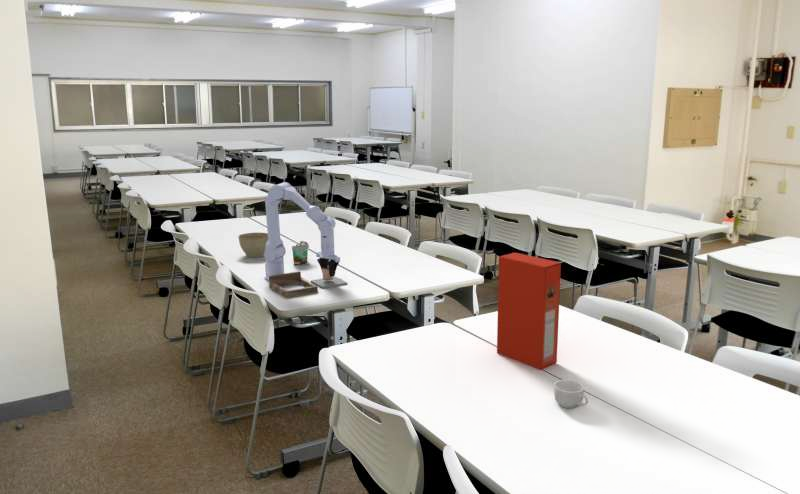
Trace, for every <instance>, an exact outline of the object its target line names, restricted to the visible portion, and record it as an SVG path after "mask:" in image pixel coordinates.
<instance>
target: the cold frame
mask: <svg viewBox="0 0 800 494" xmlns="http://www.w3.org/2000/svg"><path fill="white" fill-rule="evenodd" d="M301 273H302V272H301V270H298V271H292V272H286V273H285V272H284V274H279V275H272V276H269V281H268V285H269V286H268V287H269V288H270V289H271V290H273V291H274V292H275V293H277V294H279V295H281V296H283V297H284V298H285V299H287V298H292V297H298V296H304V295H308V294H315V293H319V289H318V287H319V286H317V285H315V284H313V283H311V281H309V280H307V279H305V278H303V277H302V274H301ZM294 284H300V286H301V285H302V286H303V287H301V288H296V289H295V288H294V289H290V290H287V289H285V288H283V287H284V286H288V285H294Z"/></svg>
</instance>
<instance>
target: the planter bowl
mask: <svg viewBox="0 0 800 494" xmlns="http://www.w3.org/2000/svg"><path fill="white" fill-rule="evenodd" d="M238 240H239V241H238V242H239V245H240V249H241V250H242V251H243V253H244V254H245V256H246V257H247V258H261V257H265V256H264V252H265V249H266V243H267V241H268V232H248V233H241V234H239V235H238Z"/></svg>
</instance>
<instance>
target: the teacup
mask: <svg viewBox="0 0 800 494" xmlns="http://www.w3.org/2000/svg"><path fill="white" fill-rule="evenodd" d="M553 393H554V394H553V395H554V400H555V402H556V403H557V404H558V405H559V406H561V407H562V408H565V409H575V408H578V407H579V406H586V405H588V404H589V399H588V397H587V396H586V395H584V393H585V385H583V384H582V383H581V382H579V381H576V380H572V379H560V380H559V379H558V380H556V381H555V382H554V383H553ZM583 400H585V403H583Z"/></svg>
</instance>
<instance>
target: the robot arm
mask: <svg viewBox="0 0 800 494" xmlns="http://www.w3.org/2000/svg"><path fill="white" fill-rule="evenodd" d="M282 200H283V201H284V200H285V201H286V200H287V201H292V202H294V204H296V205H297V206H299V207H300V208H301V209H302V210H304V211H305V215H306V216H307V218H309V220H311V221H312V222H313V223H314V224H316V225H317V227H318V230H319V231H320V251H318V252H317V251H316V252H315V255H316V257H317V259H316V261H317V263H318V265H319V266H320V270H321V272H322V268H324V267H329V274H330V277H332V276H333V277H334V276H335V277H336V270H337V267H338V265H339V263H340V262H341V257H340V256H338V255H336V253H335V234H334V231H335V230H334V229H335V227H336V221H335V219H334V218H333V217H332V216H328V214H326V213H324V212H323V210H321V209H320V207H319V206H316V205H311V203H309V202H308V201H307V200H306V199H305V198H304V197H303V196H302V195H301V194H300V193H299V192H298V191H297V190H296V188H295V187H294V186H292V185H291V184H290V183H289V182H287V181H286V182H285V181H284V182H281V183H278V184H274V185H272V186H270V188H269V189H268V193H267V195H266V197H265V200H264V201H265V202H264V204H265V205H264V206H265V214H266V227H267V230H266V231H267V233H268V241H267V243H266V249H265V252H264V256H263V257H264V258H265V259H266V261H265V264H264V265H265V276H263V278H264V279H265V280H267V281H268V282H269V276H272V275H279V274H285V263H284V256H285V255H286V252H287V251H286V250H287V249H286V247H285V246H284V241H283V240H282V238H281V231H280V228H281V227H280V215H279V204H280V203H281V202H282ZM322 274H323V272H322Z"/></svg>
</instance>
